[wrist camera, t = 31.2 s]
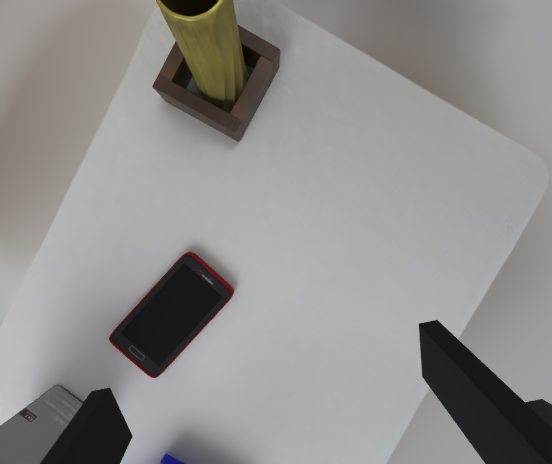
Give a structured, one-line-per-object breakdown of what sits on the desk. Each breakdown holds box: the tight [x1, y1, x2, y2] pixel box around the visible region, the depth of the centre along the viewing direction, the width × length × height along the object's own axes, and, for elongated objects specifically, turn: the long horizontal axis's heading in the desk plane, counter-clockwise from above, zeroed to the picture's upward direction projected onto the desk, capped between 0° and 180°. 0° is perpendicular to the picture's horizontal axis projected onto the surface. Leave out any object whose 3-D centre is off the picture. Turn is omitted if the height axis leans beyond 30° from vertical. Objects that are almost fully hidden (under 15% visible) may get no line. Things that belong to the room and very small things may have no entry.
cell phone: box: [109, 252, 234, 378], centre depth 33 cm, size 8×15×1 cm, turn 137°
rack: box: [152, 25, 280, 142], centre depth 31 cm, size 10×10×4 cm
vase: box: [156, 0, 249, 111], centre depth 25 cm, size 6×6×14 cm
